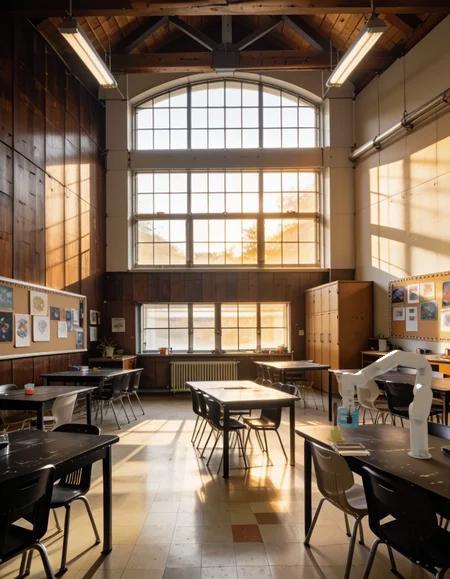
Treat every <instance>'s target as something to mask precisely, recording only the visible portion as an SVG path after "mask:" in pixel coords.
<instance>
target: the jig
mask: <svg viewBox="0 0 450 579" xmlns="http://www.w3.org/2000/svg"><path fill="white" fill-rule="evenodd" d="M329 446H330V447H331V448H332V450H334V451H335V453H337V454H338V453H339V454H341V455H342V457H343V456H348V457H349V456H351V457H352V456H355V457H356V456H360V457H361V456H365V457H366V456H367V455H368V456H371V452H369V451H368V450H367V449H366V447H365V445H363V444H362V443H360V442H358V443H357V442H356V443H352V442H351V443H350V442H349V443H348V442H347V443H346V442H345V443H344V442H334V443H333V442H331V443H330V444H329ZM339 454H338V455H339Z"/></svg>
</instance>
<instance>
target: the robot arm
mask: <svg viewBox="0 0 450 579" xmlns="http://www.w3.org/2000/svg"><path fill="white" fill-rule="evenodd" d="M397 366H402V367H406V368H413V369H415V370H416V377H415V381H414V387H413V390H412V392H413V393H412V394H413V395H414V397H413V400H412V402H411V403H410V404H409V405H408V406H409V407H408V416H409V417H408V418H409V439H410V442H409V443H410V445H409V446H410V451H408V452H407V455H408V456H409V457H411V458H414V459H415V458H416V459H421V460H425V459H431V458H432V454H431V453H429V436H428V418H429V416H430V413H431V407H432V402H433V396H434V394H433V391H432V388H431V387H432V380H433V369H432V365H431V363H430V362H429V360H428V359H427V357H426V356H425V355H424V354H421V353H416V352H415V353H414V352H407V351H403V350H400V349H395V350H393V351H391V352H389V353H388V354H385V355H384V356H382V357H380V358H379V359H377V360H376V361H374V362H373V363H371V364H369V365H368V366H366V367H364V368H362V369H361V370H359V371H358V372H356V373H353V372H348V371H347V372H342V374H341V396H342V407H345V408H346V412H347V424H352V414H353V412H355V407H356V406H355V397H354V396H355V386H360V387H361V386H362V387H364V386H365V385H366V384H367V382H369V381H370V380H371V379H373V378H375V377H378V376H380V375H383V374H386V373H388V372H389V371H391V370H392V369H394V368H396V367H397ZM352 410H353V411H352ZM348 411H350V412H348Z"/></svg>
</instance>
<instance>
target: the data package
mask: <svg viewBox="0 0 450 579" xmlns="http://www.w3.org/2000/svg"><path fill="white" fill-rule="evenodd" d="M352 411H353V410H352ZM359 411H360V410H359V408H357V407H356V406H355V412H353V414H352V424H347V412H346V408H345V407H343V406H338V413H337V426H339V427H340V429H341V428H342V429H343V428H344V429H357V428H359V425H360V423H359V422H360V421H359V420H360V418H359V415H360V412H359ZM348 412H350V411H348Z"/></svg>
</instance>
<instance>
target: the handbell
mask: <svg viewBox="0 0 450 579" xmlns="http://www.w3.org/2000/svg"><path fill="white" fill-rule="evenodd" d="M338 407H339V406H338V402H337V401H333V403H332V413H333V427H331V428H330V434H329V435H328V436H327V437H326V440H327V441H329V442H332V443H333V442H334V443H344V442H345V441H346V439H345V438H344V437H343V436H342V435H341V434H342V431H341V428H339V427H338Z"/></svg>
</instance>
